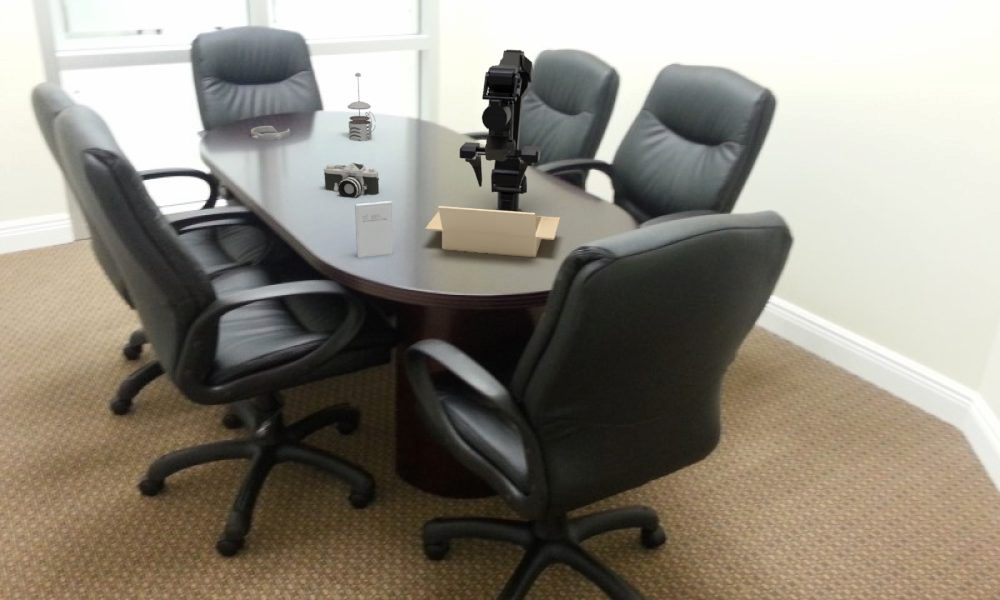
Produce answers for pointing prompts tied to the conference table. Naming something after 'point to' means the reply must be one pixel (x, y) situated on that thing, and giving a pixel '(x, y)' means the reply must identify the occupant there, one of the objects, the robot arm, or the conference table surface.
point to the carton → (497, 239)
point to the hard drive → (374, 228)
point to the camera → (351, 180)
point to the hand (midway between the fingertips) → (499, 187)
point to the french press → (360, 120)
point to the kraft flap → (487, 221)
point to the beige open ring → (269, 136)
